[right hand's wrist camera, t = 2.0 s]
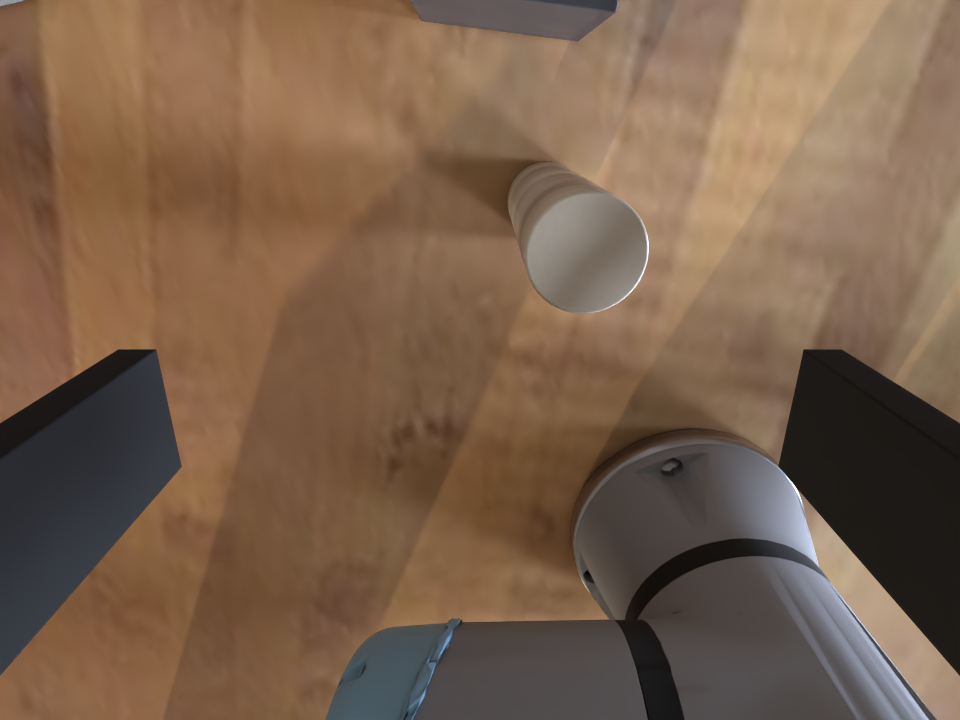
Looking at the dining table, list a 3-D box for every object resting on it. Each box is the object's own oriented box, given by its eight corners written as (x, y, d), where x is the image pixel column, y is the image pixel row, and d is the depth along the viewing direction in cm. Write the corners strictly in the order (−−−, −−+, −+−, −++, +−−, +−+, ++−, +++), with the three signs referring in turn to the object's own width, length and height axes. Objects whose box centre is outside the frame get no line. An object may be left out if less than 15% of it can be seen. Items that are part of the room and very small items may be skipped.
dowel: (596, 183, 33) (673, 227, 20) (559, 251, 34) (607, 333, 21) (529, 147, 32) (563, 167, 19) (494, 218, 33) (503, 281, 20)
